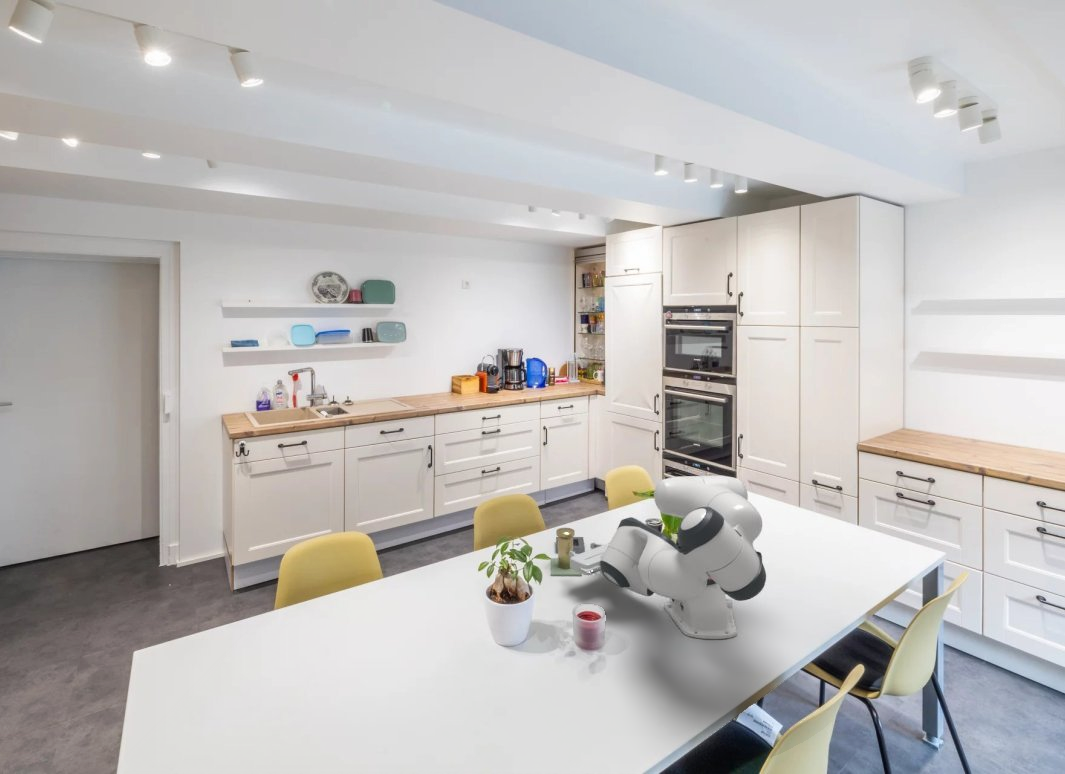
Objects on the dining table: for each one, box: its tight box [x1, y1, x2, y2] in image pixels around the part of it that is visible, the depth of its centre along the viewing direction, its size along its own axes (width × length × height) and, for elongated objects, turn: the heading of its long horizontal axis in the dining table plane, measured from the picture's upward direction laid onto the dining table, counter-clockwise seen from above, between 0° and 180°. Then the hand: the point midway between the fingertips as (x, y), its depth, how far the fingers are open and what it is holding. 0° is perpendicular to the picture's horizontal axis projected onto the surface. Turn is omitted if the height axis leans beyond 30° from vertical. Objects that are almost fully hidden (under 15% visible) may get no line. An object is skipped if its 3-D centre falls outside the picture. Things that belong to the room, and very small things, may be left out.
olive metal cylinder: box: [555, 527, 575, 569], centre depth 182 cm, size 6×6×12 cm
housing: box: [555, 536, 586, 555], centre depth 197 cm, size 10×10×2 cm
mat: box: [550, 557, 583, 577], centre depth 183 cm, size 12×10×1 cm
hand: (581, 548), depth 176 cm, fingers open, 8 cm apart
